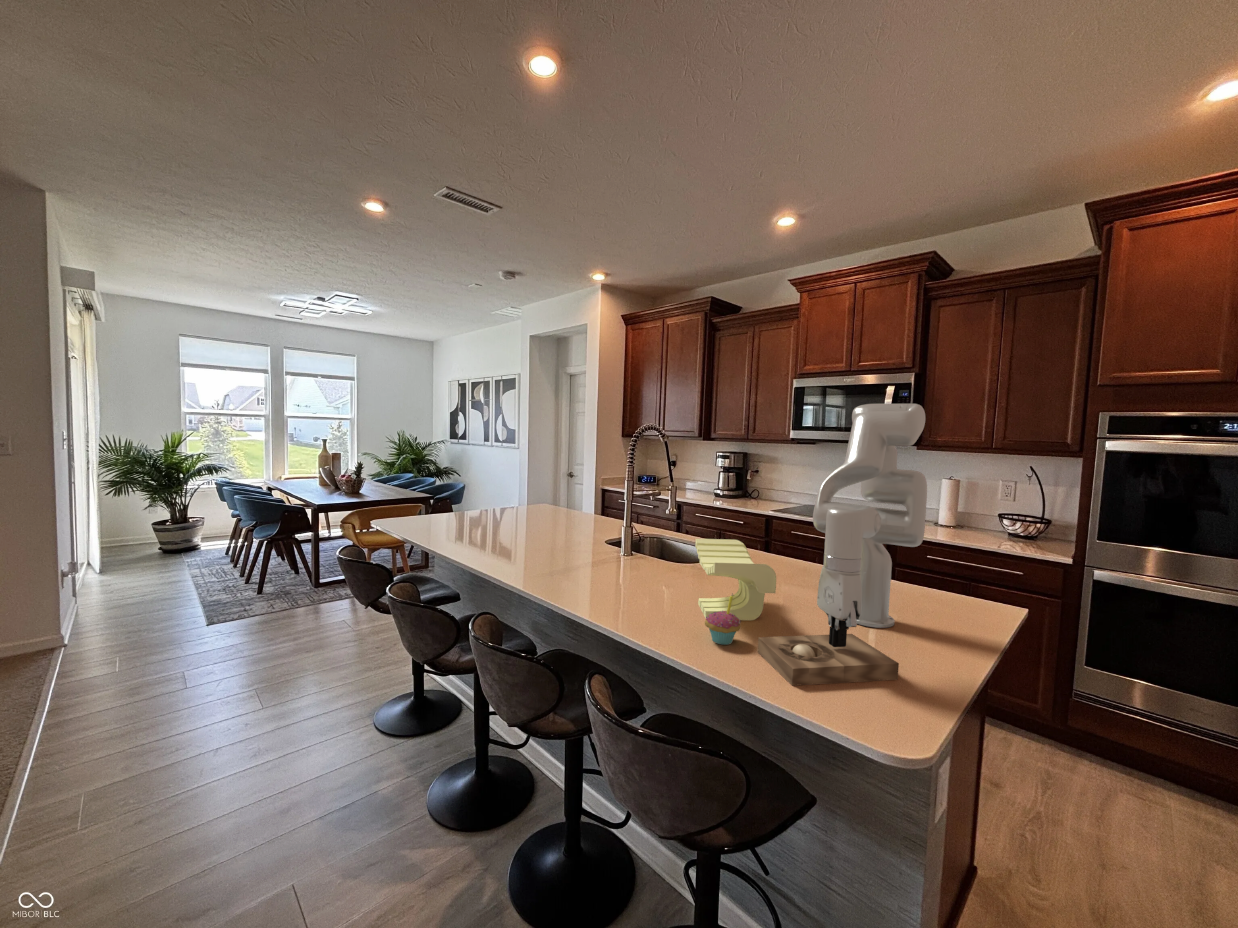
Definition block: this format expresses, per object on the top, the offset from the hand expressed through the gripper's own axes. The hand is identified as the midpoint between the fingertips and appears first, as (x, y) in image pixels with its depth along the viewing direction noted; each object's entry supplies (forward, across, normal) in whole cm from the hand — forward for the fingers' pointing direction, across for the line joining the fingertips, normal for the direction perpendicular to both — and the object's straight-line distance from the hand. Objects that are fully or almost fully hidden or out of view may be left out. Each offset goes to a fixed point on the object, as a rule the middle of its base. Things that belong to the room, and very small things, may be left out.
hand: (837, 645), depth 114 cm
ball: (+2, 0, -8) cm, 8 cm away
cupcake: (+5, -15, -21) cm, 26 cm away
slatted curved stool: (+5, -35, -11) cm, 37 cm away
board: (+4, 0, -3) cm, 5 cm away
